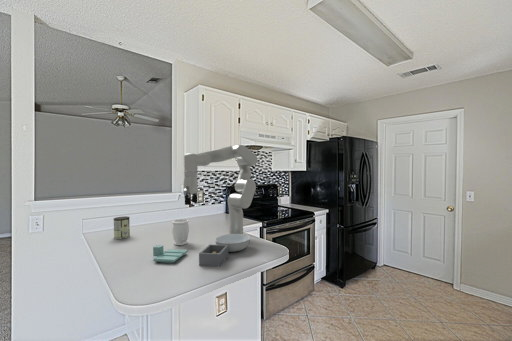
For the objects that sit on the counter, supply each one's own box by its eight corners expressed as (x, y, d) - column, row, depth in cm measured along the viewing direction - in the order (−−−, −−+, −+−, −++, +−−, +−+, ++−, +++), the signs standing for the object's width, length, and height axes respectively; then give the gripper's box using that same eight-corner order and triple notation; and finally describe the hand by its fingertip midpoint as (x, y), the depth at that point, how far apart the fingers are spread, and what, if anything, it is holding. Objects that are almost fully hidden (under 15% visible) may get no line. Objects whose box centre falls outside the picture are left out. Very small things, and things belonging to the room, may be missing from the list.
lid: (162, 253, 143) (162, 241, 143) (187, 254, 140) (187, 242, 140) (146, 263, 127) (146, 250, 127) (174, 264, 125) (174, 251, 125)
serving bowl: (232, 242, 162) (232, 231, 162) (257, 248, 149) (257, 236, 149) (208, 250, 146) (207, 239, 146) (233, 258, 133) (233, 245, 133)
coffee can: (119, 235, 184) (119, 216, 184) (132, 235, 183) (132, 216, 183) (110, 238, 174) (110, 219, 174) (124, 239, 173) (123, 219, 173)
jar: (184, 246, 154) (183, 222, 154) (169, 245, 156) (168, 222, 156) (191, 241, 165) (191, 219, 165) (177, 240, 167) (177, 218, 167)
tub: (209, 255, 138) (209, 244, 138) (228, 255, 136) (228, 245, 136) (199, 265, 123) (198, 253, 123) (220, 266, 121) (219, 254, 121)
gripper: (191, 174, 153) (191, 201, 153) (178, 174, 136) (178, 205, 136) (202, 174, 152) (202, 201, 152) (190, 174, 135) (191, 205, 135)
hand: (191, 203), depth 144 cm, fingers open, 9 cm apart
